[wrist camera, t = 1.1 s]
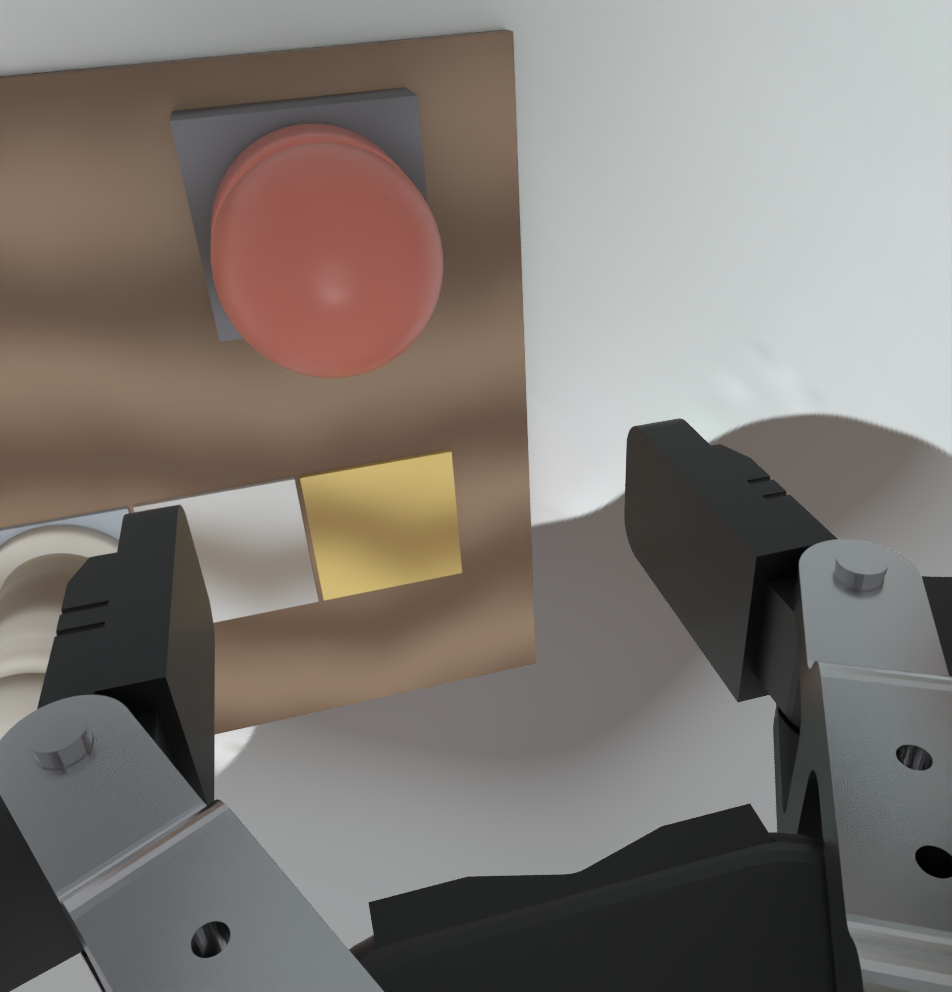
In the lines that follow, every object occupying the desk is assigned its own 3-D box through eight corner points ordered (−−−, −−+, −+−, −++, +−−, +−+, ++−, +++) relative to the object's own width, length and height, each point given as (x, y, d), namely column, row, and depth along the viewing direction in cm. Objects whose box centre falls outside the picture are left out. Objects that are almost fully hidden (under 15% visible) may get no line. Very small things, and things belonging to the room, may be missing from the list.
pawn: (-41, 540, 31) (-134, 752, 23) (125, 511, 32) (94, 703, 24) (13, 660, 34) (-52, 887, 26) (163, 630, 35) (148, 838, 27)
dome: (188, 136, 24) (181, 182, 19) (409, 112, 25) (457, 151, 20) (235, 345, 27) (239, 433, 22) (428, 317, 28) (474, 394, 23)
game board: (-272, 101, 24) (-323, 116, 22) (505, 29, 28) (532, 36, 26) (36, 760, 38) (25, 812, 36) (530, 651, 42) (549, 692, 40)
